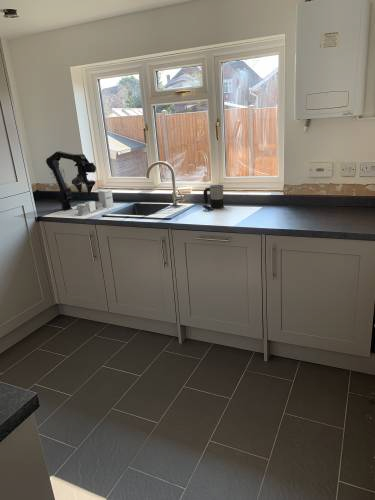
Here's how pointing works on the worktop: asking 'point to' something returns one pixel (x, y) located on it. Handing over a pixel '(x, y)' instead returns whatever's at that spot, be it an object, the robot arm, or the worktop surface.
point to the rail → (84, 209)
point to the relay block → (79, 205)
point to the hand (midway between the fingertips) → (84, 194)
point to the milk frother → (214, 197)
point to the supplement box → (106, 198)
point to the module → (90, 205)
